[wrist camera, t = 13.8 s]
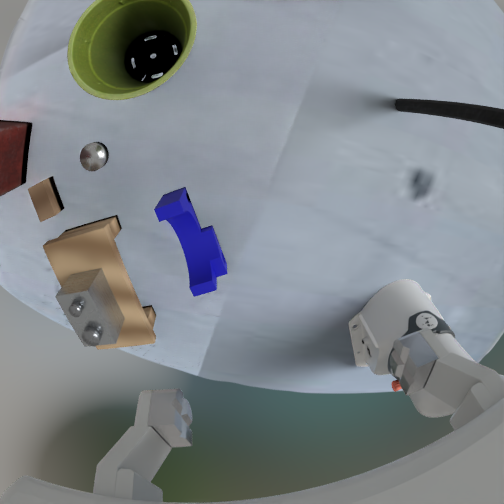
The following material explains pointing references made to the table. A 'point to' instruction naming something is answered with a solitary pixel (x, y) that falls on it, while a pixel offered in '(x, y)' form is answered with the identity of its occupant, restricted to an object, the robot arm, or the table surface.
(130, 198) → the table surface
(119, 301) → the stand
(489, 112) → the solar garden light
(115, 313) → the housing
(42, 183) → the tan wooden block
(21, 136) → the red grey canister
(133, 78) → the plant pot
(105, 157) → the chrome bead
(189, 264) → the blue curved block
